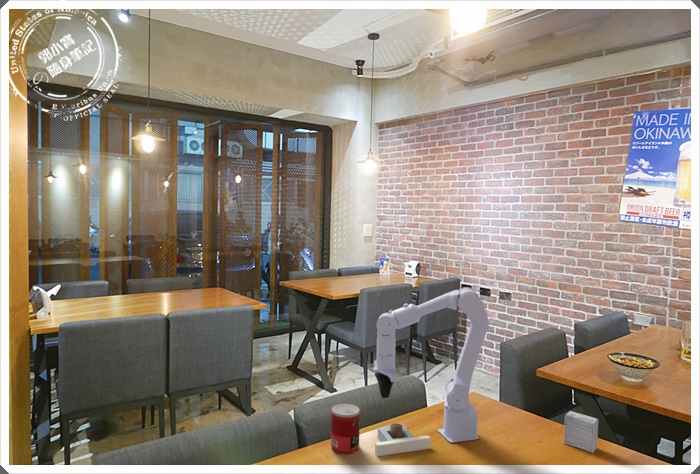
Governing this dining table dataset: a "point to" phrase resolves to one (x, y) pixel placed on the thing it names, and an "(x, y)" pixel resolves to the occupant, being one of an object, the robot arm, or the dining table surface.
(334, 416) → the canned food
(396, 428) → the dowel
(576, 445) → the medicine box
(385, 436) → the block
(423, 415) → the dining table surface
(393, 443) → the bar
